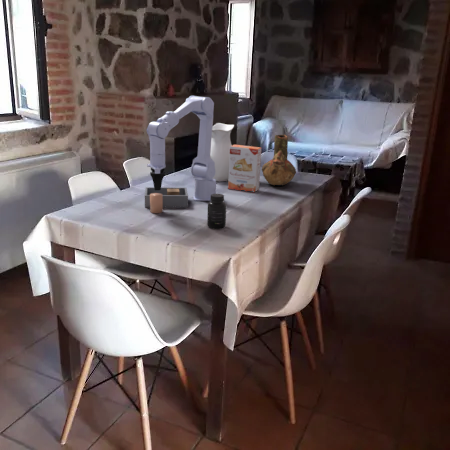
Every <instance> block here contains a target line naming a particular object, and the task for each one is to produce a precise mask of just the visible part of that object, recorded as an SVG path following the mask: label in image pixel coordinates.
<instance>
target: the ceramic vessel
mask: <svg viewBox="0 0 450 450" xmlns="http://www.w3.org/2000/svg"><path fill="white" fill-rule="evenodd" d="M273 141H274V143H273V157H272V159H270V160H269V161H267V162H265V163H264V164H263V165H262V166H261V171H262V175H263V177H264V179H265V180H266V182H267V183H268V185H269V184H270V185H272V186H275V185H282V186H285V185H286V184H288V183H290V182H291V181H292V180H293V179H294V177H295V175H296V174H297V169H296V167H295V166H294V165H293V163H292V161H290V160H288V153H289V152H288V145H289V143H288V142H289V139H288V136H287V135H286V134H276V135H274V140H273Z"/></svg>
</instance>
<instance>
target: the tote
mask: <svg viewBox="0 0 450 450" xmlns="http://www.w3.org/2000/svg"><path fill="white" fill-rule="evenodd" d="M144 189H145V190H144V208H150V194H152V193H161V194H163V209H164V208H174V209H175V208H179V209H180V208H188V207H189V194H188V189H187V187H162V186H161V190H155V189H154V186H153V187H151V186H150V187H149V186H147V187H146V186H145V188H144ZM167 189H179V195H167Z"/></svg>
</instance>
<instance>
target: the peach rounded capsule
mask: <svg viewBox="0 0 450 450" xmlns="http://www.w3.org/2000/svg"><path fill="white" fill-rule="evenodd" d="M149 212H150V213H151V214H161V213H163V212H164V208H163V194H161V193H152V194H150V207H149Z"/></svg>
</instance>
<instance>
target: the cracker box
mask: <svg viewBox="0 0 450 450" xmlns="http://www.w3.org/2000/svg"><path fill="white" fill-rule="evenodd" d="M261 161H262V147H258V146H253V145H251V146H250V145H242V144H232V146H230V158H229V179H228V180H227V181H228V182H227V183H228V184H227V185H228V187H227V189H228V190H234V189H235V191H241V190H245V191H244V192H247V191H254V192H255V191H257V190H258V191H259V189H260V177H261V163H262V162H261ZM258 191H257V192H258ZM254 192H253V193H254ZM255 193H256V192H255Z"/></svg>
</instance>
